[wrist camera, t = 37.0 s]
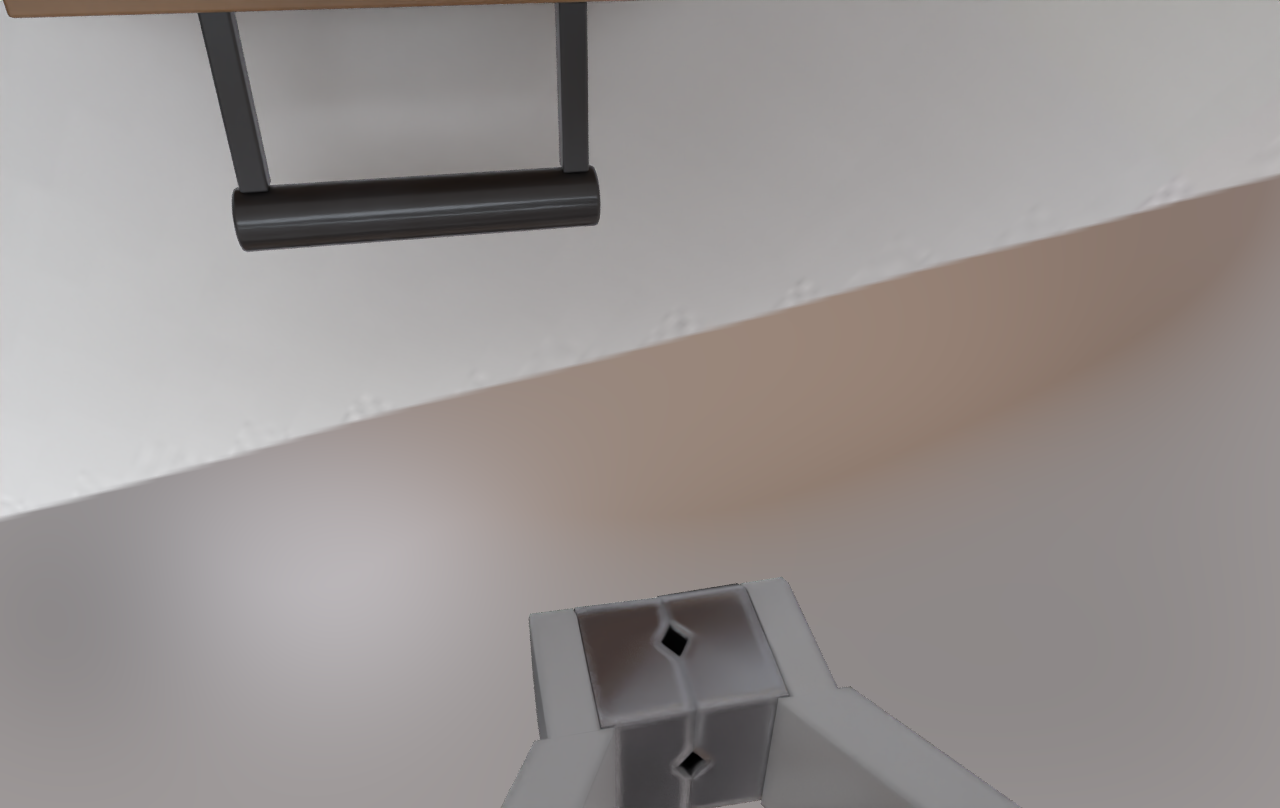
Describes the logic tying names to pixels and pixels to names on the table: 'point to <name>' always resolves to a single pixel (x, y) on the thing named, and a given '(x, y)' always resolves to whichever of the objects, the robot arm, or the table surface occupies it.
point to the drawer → (385, 202)
